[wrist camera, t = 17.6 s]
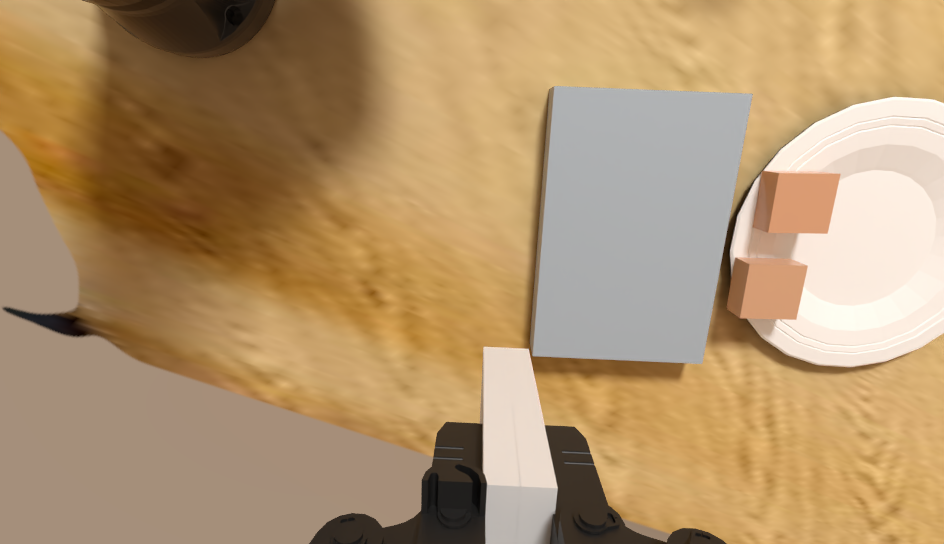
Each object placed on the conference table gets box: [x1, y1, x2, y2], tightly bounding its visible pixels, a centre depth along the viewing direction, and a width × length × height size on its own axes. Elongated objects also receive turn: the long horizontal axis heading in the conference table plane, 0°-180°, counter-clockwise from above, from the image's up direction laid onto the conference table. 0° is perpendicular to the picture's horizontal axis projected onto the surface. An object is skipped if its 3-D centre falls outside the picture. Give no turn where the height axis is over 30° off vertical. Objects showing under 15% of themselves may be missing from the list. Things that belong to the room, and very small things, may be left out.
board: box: [530, 86, 753, 364], centre depth 44 cm, size 16×24×3 cm, turn 178°
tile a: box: [753, 171, 841, 234], centre depth 42 cm, size 5×5×2 cm
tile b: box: [726, 257, 808, 320], centre depth 44 cm, size 5×5×2 cm
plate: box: [729, 97, 944, 367], centre depth 45 cm, size 25×25×2 cm
